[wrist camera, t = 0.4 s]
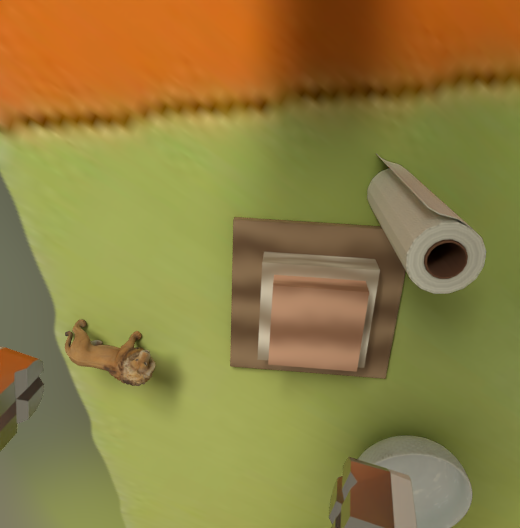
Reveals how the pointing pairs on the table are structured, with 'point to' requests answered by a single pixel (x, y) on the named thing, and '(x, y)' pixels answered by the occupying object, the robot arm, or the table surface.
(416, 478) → the cereal bowl
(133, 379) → the lion figurine
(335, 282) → the brown square stepped pedestal
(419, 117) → the table surface
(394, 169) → the paper towel roll
